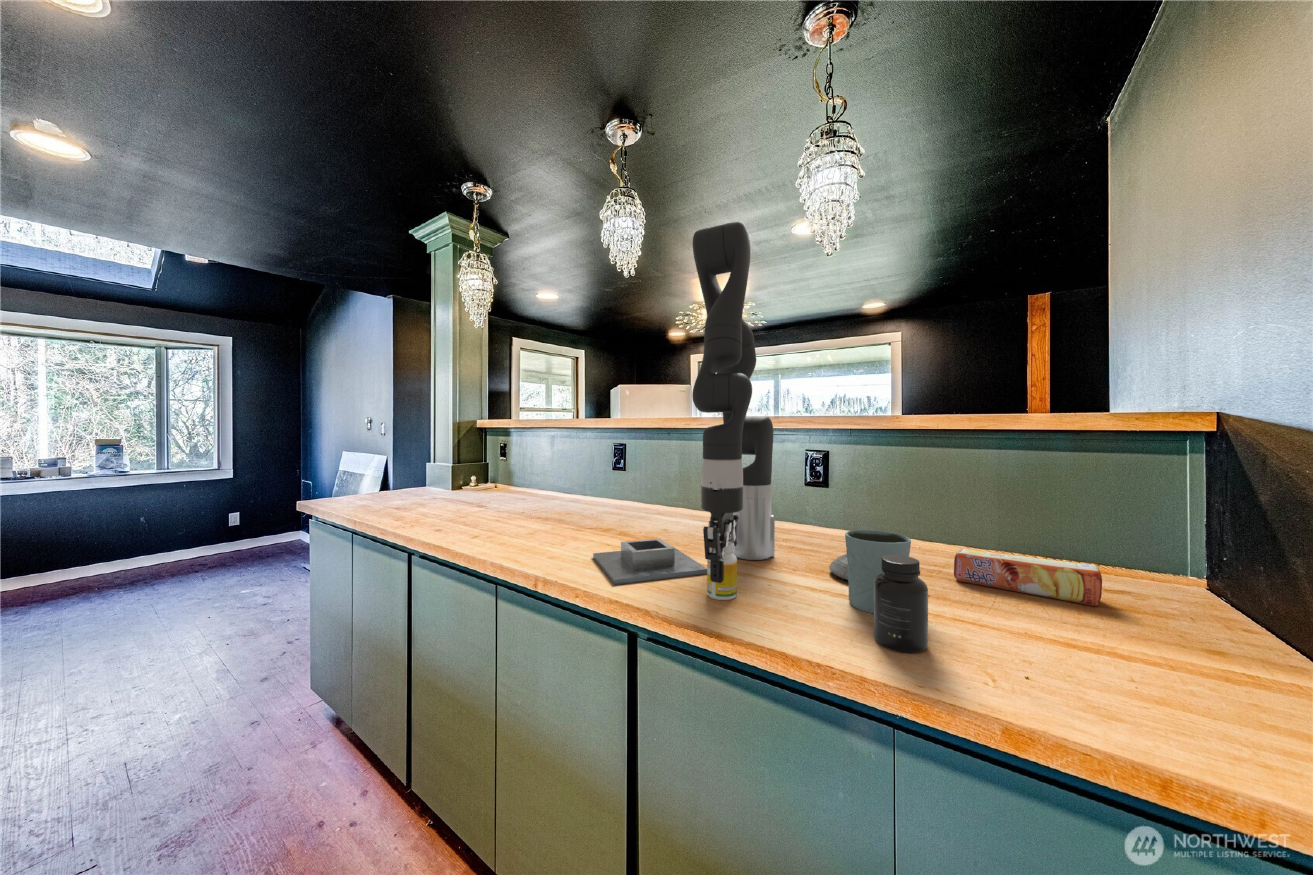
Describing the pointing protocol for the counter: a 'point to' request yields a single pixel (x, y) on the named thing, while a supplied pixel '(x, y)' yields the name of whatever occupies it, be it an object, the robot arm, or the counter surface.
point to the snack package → (1030, 575)
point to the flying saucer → (840, 567)
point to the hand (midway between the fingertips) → (721, 576)
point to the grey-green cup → (869, 562)
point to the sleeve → (646, 562)
